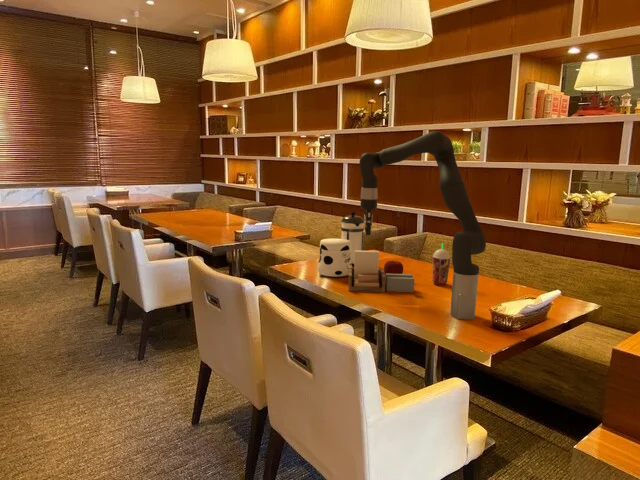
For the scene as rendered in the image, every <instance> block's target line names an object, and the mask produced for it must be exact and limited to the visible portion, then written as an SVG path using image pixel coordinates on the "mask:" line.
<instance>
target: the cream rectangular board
mask: <svg viewBox="0 0 640 480" xmlns="http://www.w3.org/2000/svg"><path fill="white" fill-rule="evenodd" d="M379 258H380V251H379V250H363V251H359V250H355V263H354V264H353V265H354V267H353V268H354V279H357V273H377V274H378V269H379V266H380V265H379V263H380V259H379Z"/></svg>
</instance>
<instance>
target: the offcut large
mask: <svg viewBox="0 0 640 480" xmlns="http://www.w3.org/2000/svg"><path fill="white" fill-rule="evenodd" d="M354 286H361V287H379V281H378V283H358V281H357V279H354Z"/></svg>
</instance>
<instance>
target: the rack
mask: <svg viewBox="0 0 640 480" xmlns="http://www.w3.org/2000/svg"><path fill="white" fill-rule="evenodd" d="M378 276H379V278H378V281H379V287H361V286H354V267H352V268H349V276H348V292H363V293H364V292H365V293H386V287H385V280H386V276H385V274H384V268H378Z"/></svg>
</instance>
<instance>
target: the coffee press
mask: <svg viewBox="0 0 640 480" xmlns="http://www.w3.org/2000/svg"><path fill="white" fill-rule="evenodd" d="M364 224H365V220H364V217H362V216H360V215H356V212H355V211H351V212H350V214H349V215H345V216H344V217H342V219H341V227H340V228H341V229H340V230H341V239H346V240H349V241H350V242H351V248H350V249H351V254H350V259H351V263H352V264H353V265H354V263H355V250H359V251H364V250H363V249H364V232H365V225H364Z"/></svg>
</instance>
